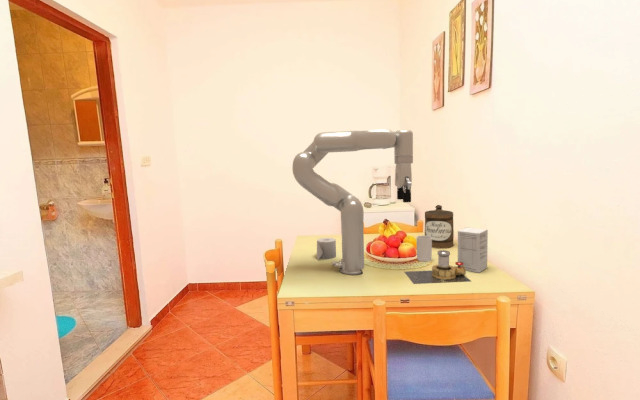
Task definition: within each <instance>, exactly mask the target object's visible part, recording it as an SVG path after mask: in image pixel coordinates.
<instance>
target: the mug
mask: <svg viewBox="0 0 640 400" xmlns="http://www.w3.org/2000/svg"><path fill="white" fill-rule="evenodd" d="M432 249H433V248H432V237H431V236H425V234H424V235H417V236H416V259H417V261H419V262H431V261H432V252H433V251H432Z"/></svg>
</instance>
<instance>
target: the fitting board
mask: <svg viewBox="0 0 640 400" xmlns="http://www.w3.org/2000/svg"><path fill="white" fill-rule="evenodd" d="M455 265H456V266H452V265H450V264H449V270H440V269H438V264H435V265H432V266H431V270H413V271H412V270H411V271H404V274H405V275H406V277H408V278H409V280H410V281H411V283H412V284H413V285H422V284H423V285H424V284H443V283H444V284H446V283H468V282H470V283H471V282H472V280H471V279H469V278H468V277H467V276H466V274H467V272H466V271H467V270H466V269H465V267H464V266H460V265H464V263H463V262H458V261H455Z"/></svg>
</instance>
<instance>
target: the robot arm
mask: <svg viewBox="0 0 640 400" xmlns="http://www.w3.org/2000/svg"><path fill="white" fill-rule="evenodd" d="M413 136H414V132H413V131H412V130H411V129H401V130H397V131H392V130H391V129H373V130H372V129H371V130H370V129H369V130H346V131H344V130H343V131H327V132H326V131H325V132H319V133H317V134H316V135H315V136H314V138H313V141H312V142H311V143H310V144H309V145H308V146H307V148H305V150H304V151H301V152H300V153H297V154H296V155H295V156H294V158H293V161H292V174H293V177H294V179H295V181H296V182H297V183H298V185H300V186H301V187H302V188H303V189H304V190H306V191H307V192H308V193H309V194H311V195H313V197H315V198H317V199H318V200H320V202H322V203H323V204H324V205H326V206H328V207H334V209H336V210H337V211H339V212H340V224H341V227H340V228H341V255H342V256H341V257H342V258H341V259H340V260H339V261H331V266H332V267H335V268H338V271H339V273H342V274H346V275H351V276H353V275H362V274H364V273H363V269H365V241H364V240H365V237H364V234H365V233H364V218H365V217H364V207H363V203H362V202H361V201H360V199H359V197H358V198H357V197H356V196H355V195H353V194H352V193H350V192H349V191H347V190H346V189H345V188H344V187H342V186H340V185H339V184H337V183H333V182H330V181H328V180H327V179H325V178H324V177H323V176H322V175H319V174H318V173H317V172H316V171H315V170H314V168H315V167H316V166H317V165H318V164H319V163H320V162H321V161H322V160H323V159H324V158H325V157H326V156H327V155H328V153H346V152H347V153H348V152H357V151H362V150H363V151H365V150H379V149H382V150H386V149H392V148H394V151H393V152H394V155H393V156H394V159H393V160H394V164H395V170H394V172H395V174H394V185H395V187H396V188H397V189H396V193H397V195H396V196H397V197H396V199H397V200H402V202H403V203H411V202H412V190H411V189H412V184H413V183H412V181H413V178H412V177H413V176H412V175H413V174H412V165H411V164H414V163H413V162H414V151H413V150H414V145H413V144H414V137H413Z"/></svg>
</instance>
